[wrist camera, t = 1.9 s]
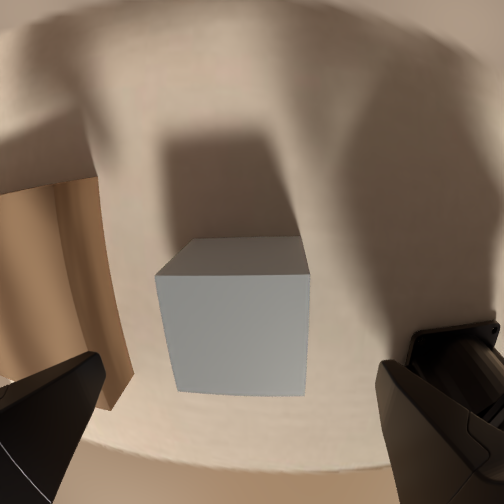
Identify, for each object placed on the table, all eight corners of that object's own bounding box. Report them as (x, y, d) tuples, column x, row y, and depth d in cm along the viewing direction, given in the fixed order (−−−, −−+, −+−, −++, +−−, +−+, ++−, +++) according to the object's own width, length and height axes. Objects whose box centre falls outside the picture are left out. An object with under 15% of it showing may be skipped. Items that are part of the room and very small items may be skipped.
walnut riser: (101, 175, 14) (53, 184, 11) (136, 370, 18) (111, 411, 14) (-14, 197, 16) (-54, 209, 12) (24, 347, 19) (-5, 373, 15)
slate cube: (300, 235, 14) (310, 274, 9) (299, 330, 16) (304, 395, 11) (193, 238, 15) (154, 275, 10) (204, 330, 16) (177, 391, 11)
